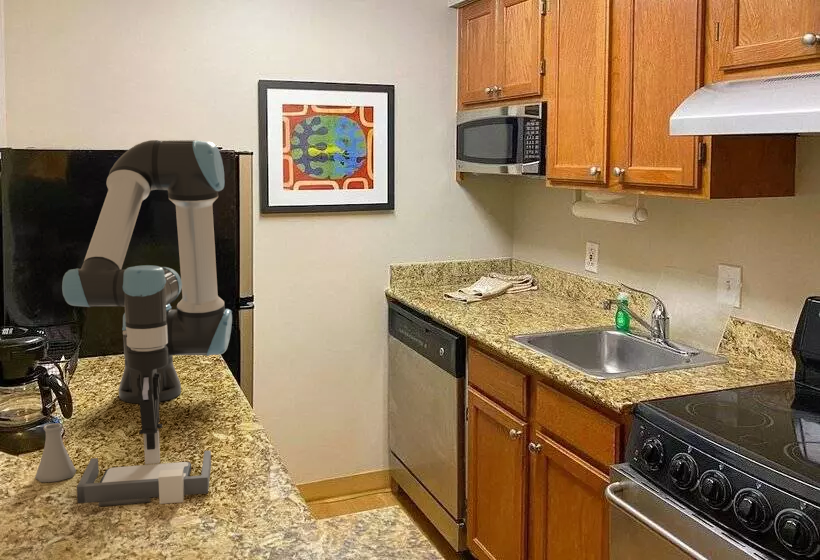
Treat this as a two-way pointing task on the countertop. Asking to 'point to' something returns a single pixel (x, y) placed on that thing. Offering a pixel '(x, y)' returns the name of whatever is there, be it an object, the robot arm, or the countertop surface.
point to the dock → (143, 486)
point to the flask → (54, 457)
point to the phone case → (142, 471)
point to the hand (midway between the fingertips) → (152, 462)
